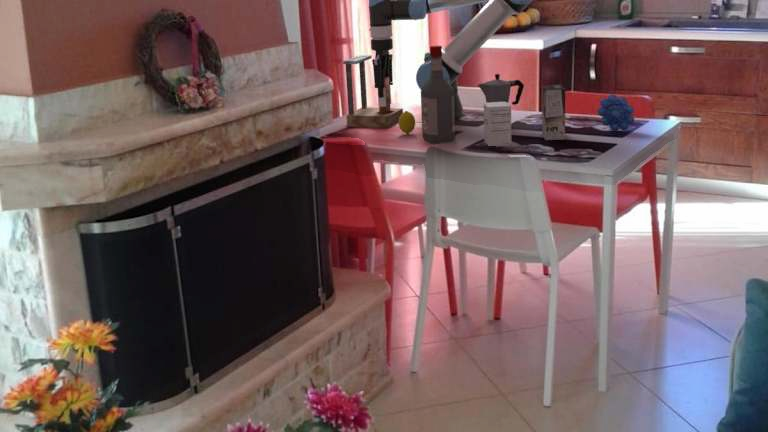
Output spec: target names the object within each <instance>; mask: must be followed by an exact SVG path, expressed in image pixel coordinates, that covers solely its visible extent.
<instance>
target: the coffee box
mask: <svg viewBox="0 0 768 432" xmlns="http://www.w3.org/2000/svg"><path fill="white" fill-rule="evenodd" d="M541 136H542V137H543V138H544V140H545V141H554V140H555V141H556V140H557V141H558V140H565V139H566V88H565V87H564V86H563V85H562V84H560V83H559V84H544V85H541Z"/></svg>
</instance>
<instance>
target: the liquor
mask: <svg viewBox="0 0 768 432" xmlns="http://www.w3.org/2000/svg"><path fill="white" fill-rule="evenodd" d="M442 46H443V45H430V46H429V50H430V51H429V52H430V56H431V75H430V78H429V80H428V81H427V82H426V83H425V85H424V86H423V87H422V89H420V107H421V131H422V132H421V133H422V134H421V136H422V139H423V141H424V142H427V143H429V144H442V143H443V144H445V143H450V142H449V141H451V142H453V141H454V140H455V138H456V123H455V122H456V121H455V112H454V89H453V87H452V86H451V85H450V84H449V83H448V81H447V80H446V79H445V78H444V77H443V73H442V57H441V56H442V49H443V47H442ZM452 140H453V141H452Z"/></svg>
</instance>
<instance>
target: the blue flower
mask: <svg viewBox="0 0 768 432" xmlns="http://www.w3.org/2000/svg"><path fill="white" fill-rule="evenodd" d="M599 104H600V107H598V109H597V110H596V111H597V114H598V116H600V117H601V119H600V121H601V123H602V125H604V126H606V127H607V126H609V128H610V130H611V131H613V132H617V131H619V130H621V131H625V132H626V131H628V130H629V125H631V124H634V123H635V117H634V115H633V114H634V111H635V109H634V107H633V105H631V104H628V99H626V97H624V96H620V97H617V95H615V94H613V93H611V94H609V95H608V97H607V98H604V97H603V98H602V99H600V101H599Z"/></svg>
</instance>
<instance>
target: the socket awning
mask: <svg viewBox="0 0 768 432" xmlns="http://www.w3.org/2000/svg"><path fill="white" fill-rule="evenodd" d="M370 59H372V55H371V54H370V55H366V54H365V55H364V54H362V55H361V54H360V55H359V54H358V55H356V56H353V57H351V58H348V59H346V60H343V61H342V64H343V65H344V66H345V77H346V95H347V110H348V114H346V127H353V128H354V127H355V128H383V129H386V128H387V129H389V128H391V127H393V126H395V125H397V124H399V117H400V115H401V114H402V113H404V109H403V108H397V107H396V108H395V107H393V108H392V107H390V109H391V113H390V114H379V107H368V102H367V101H368V100H367V99H368V98H367V96H368V95H367V83H366V82H367V81H366V80H367V79H366V61H367V60H370ZM358 64H359V66H358V68H359V81H360V82H359V83H360V86H359V87H360V99H361V101H360V102H361V103H360V104H361V107H360V108H358V109H356V110H355V105H354V89H353V75H352V71H353V70H352V65H358Z"/></svg>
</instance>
